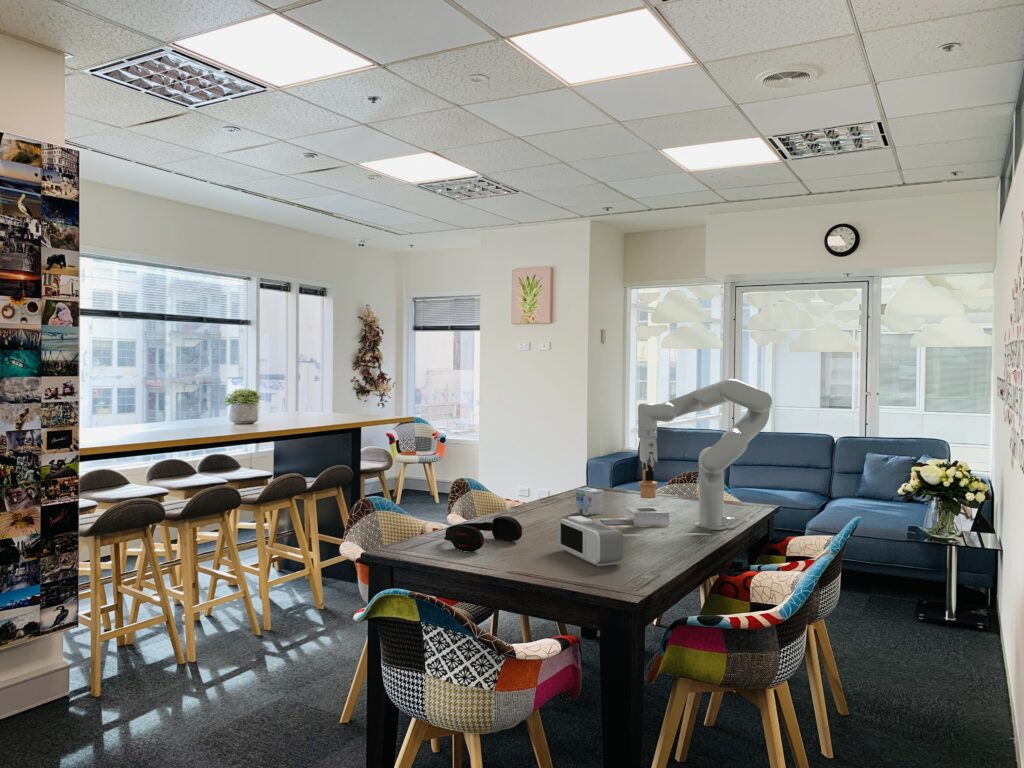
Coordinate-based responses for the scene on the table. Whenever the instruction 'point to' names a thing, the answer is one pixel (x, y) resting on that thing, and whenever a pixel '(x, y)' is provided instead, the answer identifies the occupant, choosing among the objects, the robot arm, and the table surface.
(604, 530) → the alarm clock
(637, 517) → the plate
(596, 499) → the light bulb box
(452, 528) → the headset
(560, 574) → the table surface
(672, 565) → the table surface
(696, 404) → the robot arm
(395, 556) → the table surface
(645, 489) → the end cover
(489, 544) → the table surface
